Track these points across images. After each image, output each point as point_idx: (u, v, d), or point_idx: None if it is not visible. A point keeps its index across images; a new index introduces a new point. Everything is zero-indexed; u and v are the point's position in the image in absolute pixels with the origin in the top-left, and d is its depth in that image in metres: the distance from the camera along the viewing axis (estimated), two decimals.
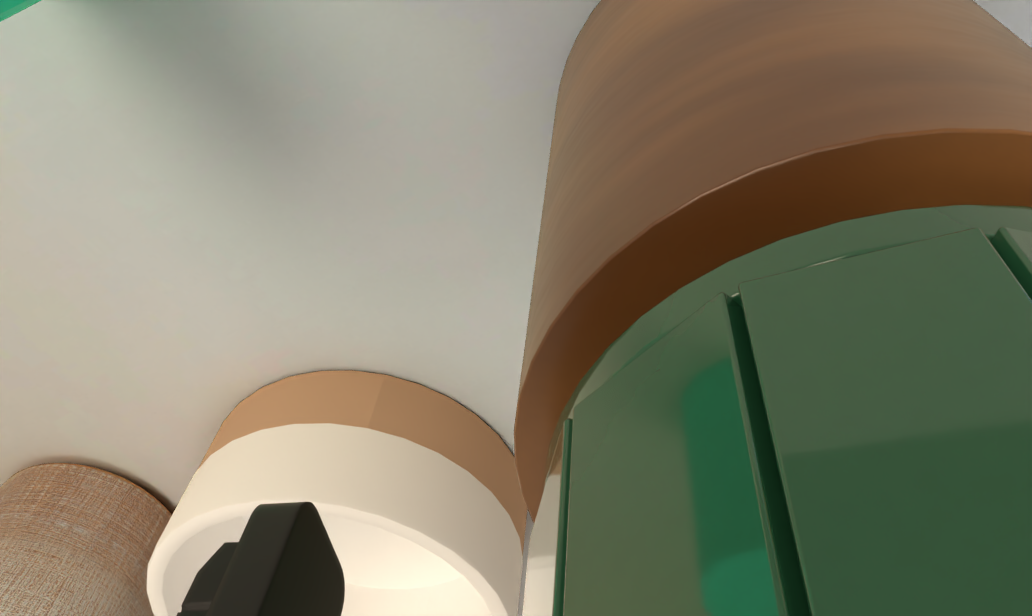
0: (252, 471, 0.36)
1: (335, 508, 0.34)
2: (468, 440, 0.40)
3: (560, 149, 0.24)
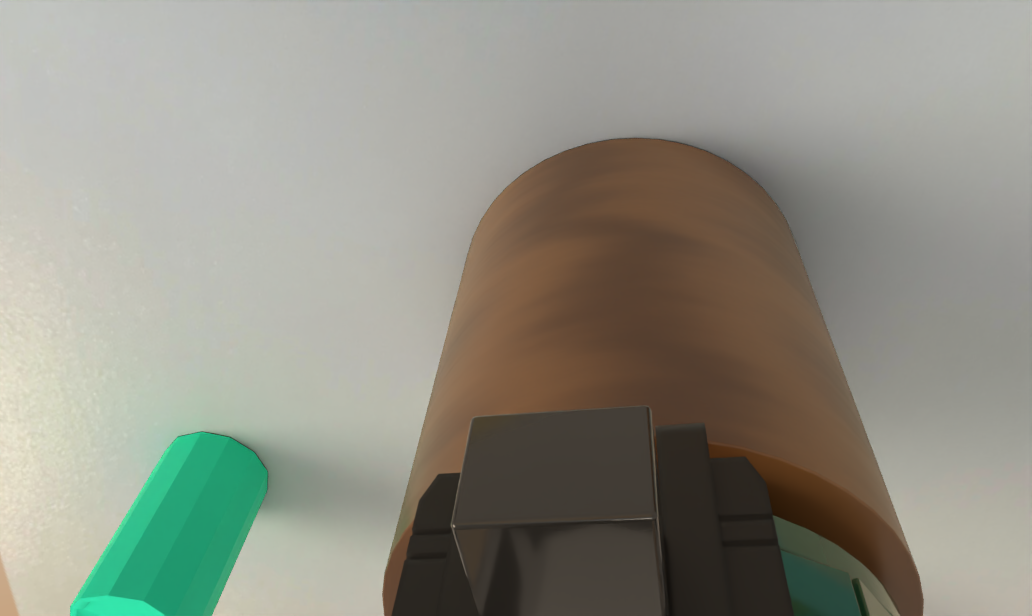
0: None
1: None
2: None
3: None
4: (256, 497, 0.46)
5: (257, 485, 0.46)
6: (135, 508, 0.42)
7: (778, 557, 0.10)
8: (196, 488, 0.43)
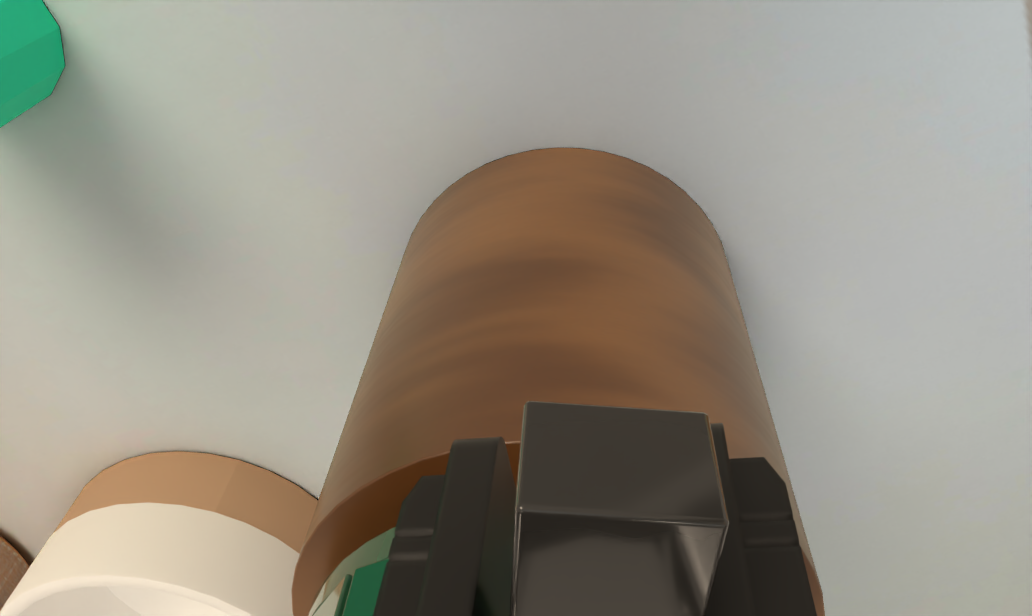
0: (103, 545, 0.40)
1: (174, 587, 0.39)
2: (307, 525, 0.45)
3: (377, 338, 0.30)
4: (24, 111, 0.33)
5: (36, 100, 0.33)
6: None
7: (799, 558, 0.10)
8: None
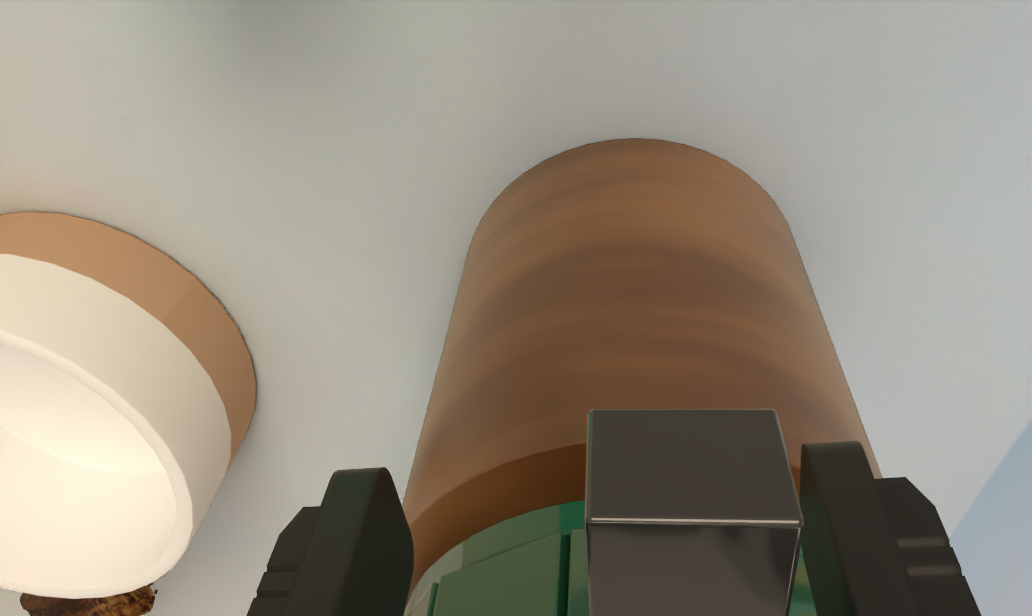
0: (29, 304, 0.33)
1: (104, 387, 0.33)
2: (235, 376, 0.40)
3: (540, 263, 0.28)
4: None
5: None
6: None
7: (965, 589, 0.09)
8: None
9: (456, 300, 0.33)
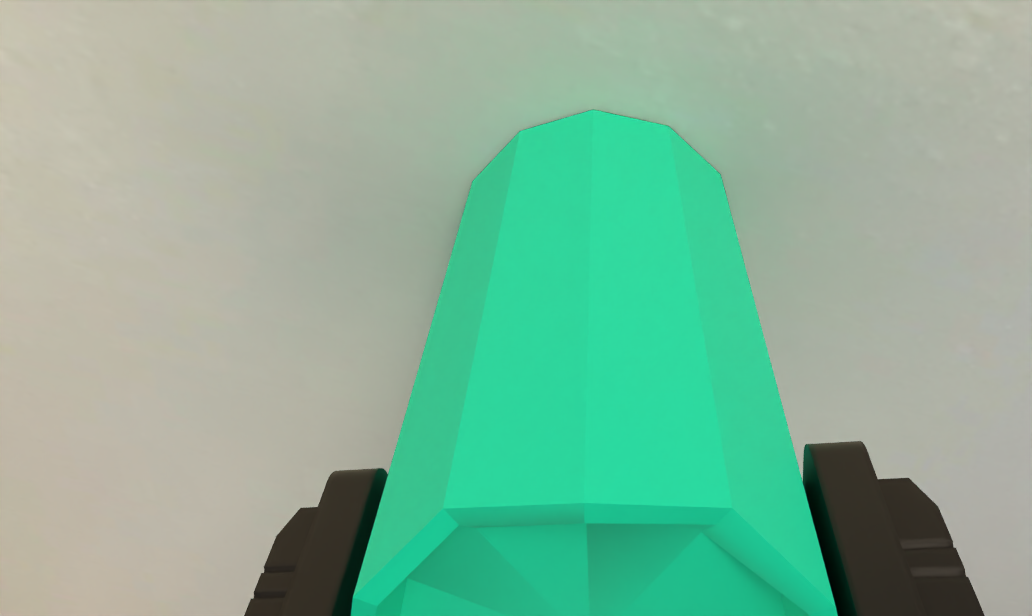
0: None
1: None
2: None
3: None
4: None
5: None
6: (757, 319, 0.13)
7: (969, 590, 0.09)
8: None
9: None
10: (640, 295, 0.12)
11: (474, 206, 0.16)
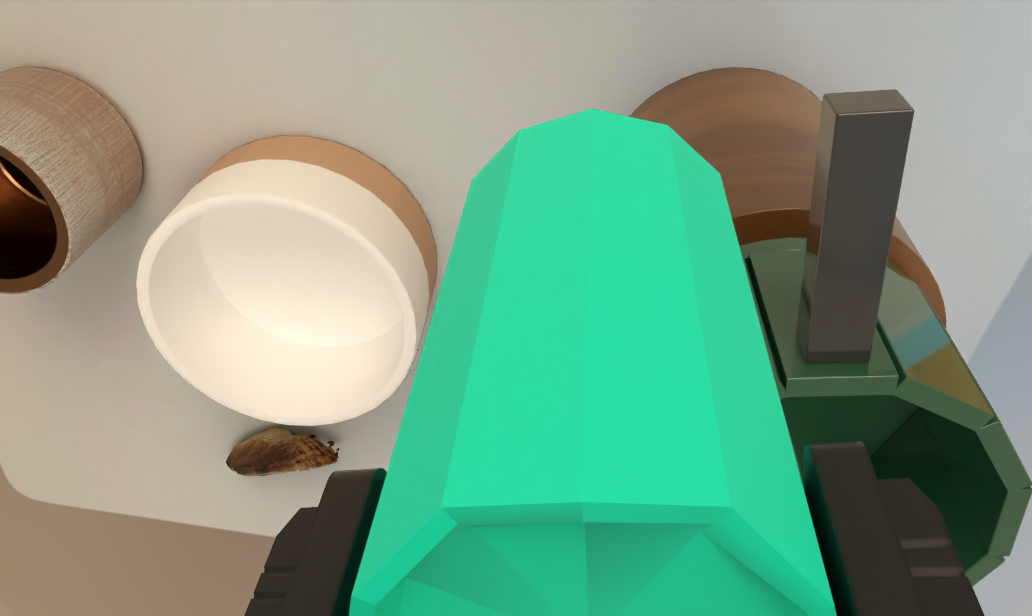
0: (316, 189, 0.48)
1: (370, 246, 0.47)
2: (430, 257, 0.55)
3: (687, 140, 0.42)
4: None
5: None
6: (756, 318, 0.13)
7: (969, 590, 0.09)
8: None
9: None
10: (639, 294, 0.12)
11: (473, 205, 0.16)
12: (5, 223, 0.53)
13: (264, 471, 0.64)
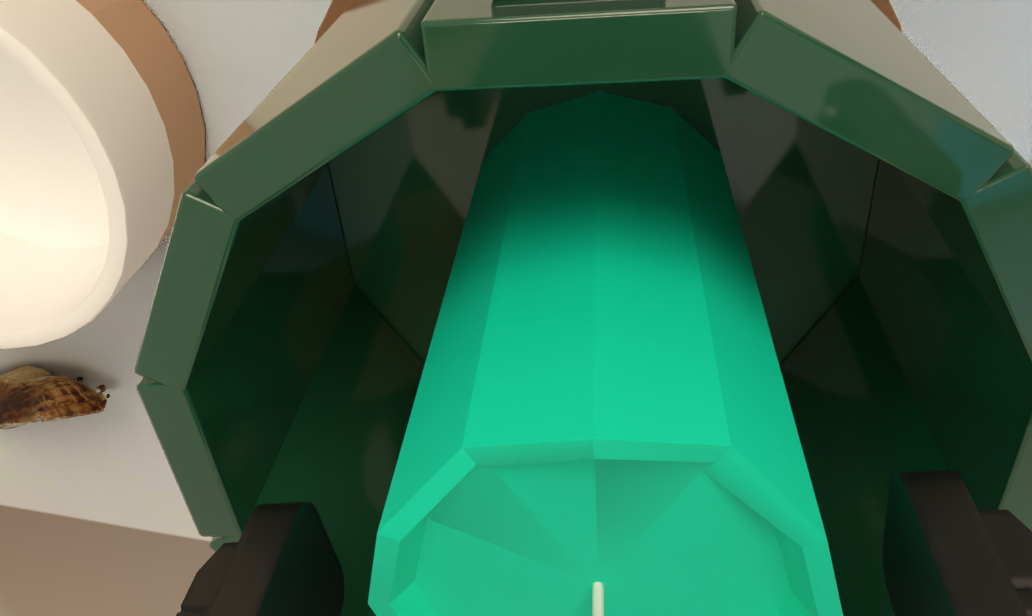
0: None
1: (20, 48, 0.30)
2: (179, 104, 0.38)
3: None
4: None
5: None
6: (756, 286, 0.14)
7: None
8: None
9: None
10: (645, 259, 0.12)
11: (484, 183, 0.17)
12: None
13: None
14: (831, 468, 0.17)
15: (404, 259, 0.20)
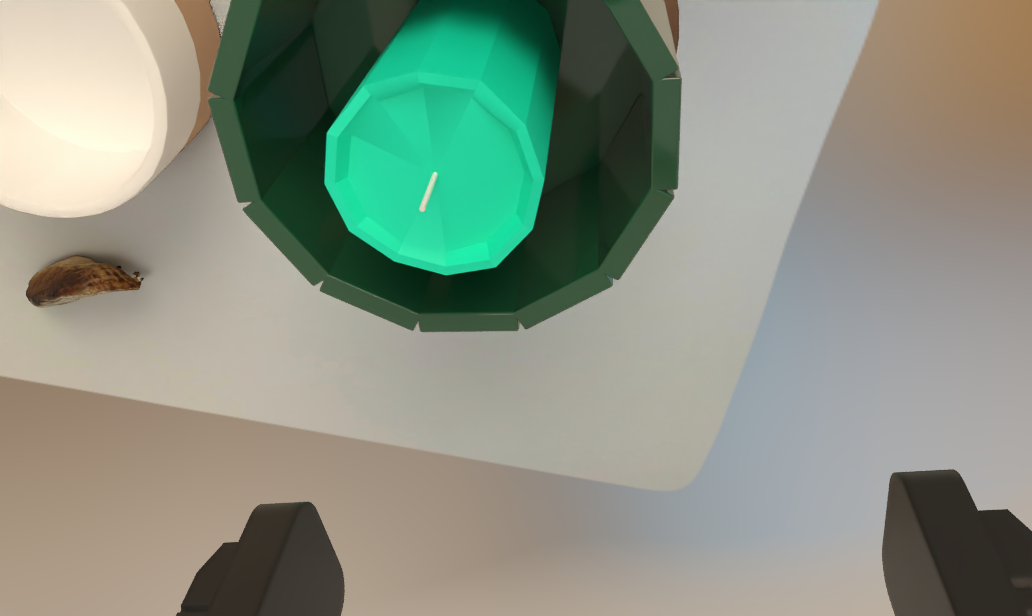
0: None
1: None
2: (204, 30, 0.49)
3: None
4: None
5: None
6: (538, 59, 0.26)
7: None
8: None
9: None
10: (467, 30, 0.24)
11: (402, 23, 0.29)
12: None
13: (55, 296, 0.59)
14: (609, 194, 0.29)
15: None
